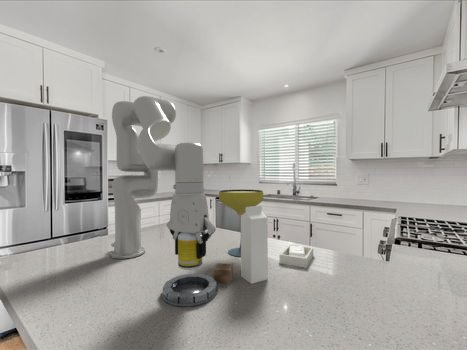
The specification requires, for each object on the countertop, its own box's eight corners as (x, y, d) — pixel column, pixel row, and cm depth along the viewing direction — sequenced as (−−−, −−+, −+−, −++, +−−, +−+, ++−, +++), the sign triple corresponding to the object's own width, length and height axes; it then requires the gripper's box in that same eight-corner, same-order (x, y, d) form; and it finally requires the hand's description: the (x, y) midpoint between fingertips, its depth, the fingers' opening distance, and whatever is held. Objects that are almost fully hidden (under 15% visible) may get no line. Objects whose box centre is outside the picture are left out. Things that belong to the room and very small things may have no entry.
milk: (268, 279, 73) (268, 206, 73) (251, 284, 70) (251, 208, 70) (256, 272, 78) (256, 204, 78) (240, 276, 75) (240, 205, 75)
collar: (150, 298, 62) (150, 290, 62) (186, 276, 75) (186, 270, 75) (196, 313, 55) (196, 304, 55) (227, 286, 68) (227, 279, 68)
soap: (289, 252, 95) (289, 245, 95) (303, 253, 94) (303, 246, 94) (289, 260, 87) (289, 252, 86) (305, 262, 85) (305, 253, 85)
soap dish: (279, 263, 86) (279, 254, 86) (289, 252, 98) (289, 244, 98) (306, 267, 82) (306, 258, 82) (313, 255, 93) (313, 247, 93)
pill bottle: (197, 271, 61) (197, 226, 61) (174, 270, 63) (173, 225, 63) (205, 262, 68) (205, 221, 68) (184, 261, 69) (183, 220, 69)
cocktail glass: (238, 264, 85) (238, 193, 85) (210, 251, 100) (210, 190, 99) (273, 253, 97) (272, 191, 97) (243, 243, 111) (243, 188, 111)
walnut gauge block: (213, 283, 71) (213, 269, 71) (217, 275, 76) (217, 263, 76) (230, 284, 70) (230, 270, 70) (232, 276, 75) (232, 264, 75)
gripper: (155, 189, 66) (156, 254, 66) (208, 190, 58) (209, 265, 58) (174, 187, 73) (175, 247, 73) (224, 188, 64) (225, 255, 65)
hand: (190, 254), depth 65 cm, fingers closed on pill bottle, 6 cm apart
